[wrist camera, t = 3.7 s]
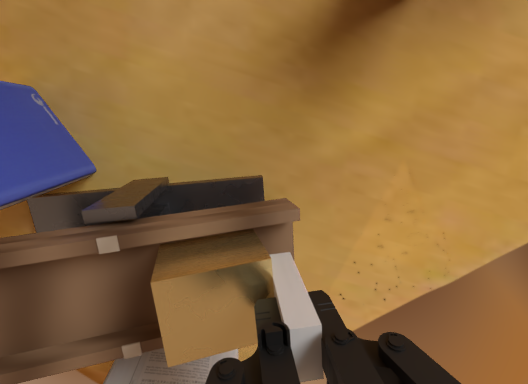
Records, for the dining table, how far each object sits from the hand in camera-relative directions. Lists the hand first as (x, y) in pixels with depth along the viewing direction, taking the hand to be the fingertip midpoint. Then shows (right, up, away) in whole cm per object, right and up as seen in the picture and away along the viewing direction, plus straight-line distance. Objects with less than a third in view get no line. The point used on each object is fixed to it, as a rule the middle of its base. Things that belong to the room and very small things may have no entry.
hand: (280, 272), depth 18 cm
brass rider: (-5, 0, +1) cm, 5 cm away
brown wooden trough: (-10, -1, +1) cm, 10 cm away
